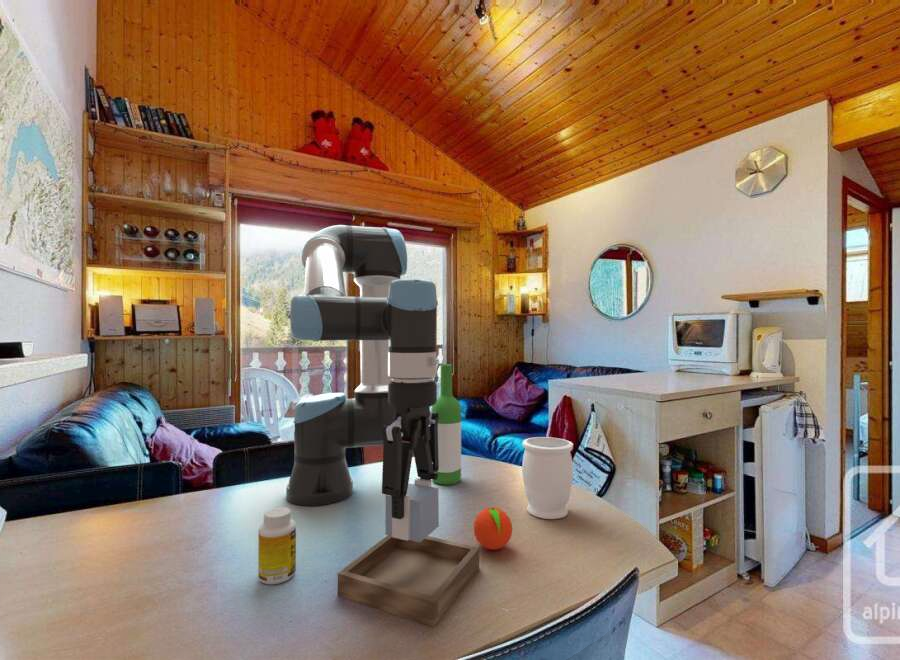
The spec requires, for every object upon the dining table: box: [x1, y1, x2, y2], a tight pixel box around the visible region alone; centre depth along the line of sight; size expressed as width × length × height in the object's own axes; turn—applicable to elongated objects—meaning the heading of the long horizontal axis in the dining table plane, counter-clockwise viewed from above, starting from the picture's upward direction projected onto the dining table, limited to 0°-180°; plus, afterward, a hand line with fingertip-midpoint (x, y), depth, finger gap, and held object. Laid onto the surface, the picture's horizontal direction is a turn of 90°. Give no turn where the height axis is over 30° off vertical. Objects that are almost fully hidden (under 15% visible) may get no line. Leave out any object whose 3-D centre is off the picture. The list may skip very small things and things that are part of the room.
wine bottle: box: [430, 363, 462, 486], centre depth 114 cm, size 8×8×30 cm
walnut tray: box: [337, 535, 480, 628], centre depth 69 cm, size 16×16×3 cm
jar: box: [521, 436, 574, 520], centre depth 95 cm, size 11×10×15 cm
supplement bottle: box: [257, 506, 297, 585], centre depth 70 cm, size 6×6×10 cm
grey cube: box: [384, 482, 440, 542], centre depth 69 cm, size 6×6×6 cm
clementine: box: [473, 507, 513, 551], centre depth 79 cm, size 8×7×7 cm
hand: (412, 528), depth 69 cm, fingers closed on grey cube, 6 cm apart
